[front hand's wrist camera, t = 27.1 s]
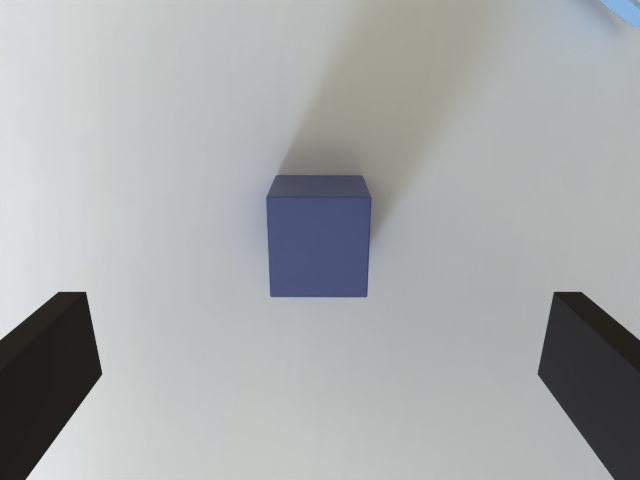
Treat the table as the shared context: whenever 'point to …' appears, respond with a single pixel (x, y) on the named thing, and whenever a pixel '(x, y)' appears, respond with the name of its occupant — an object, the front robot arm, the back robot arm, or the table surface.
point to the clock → (625, 10)
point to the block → (318, 236)
